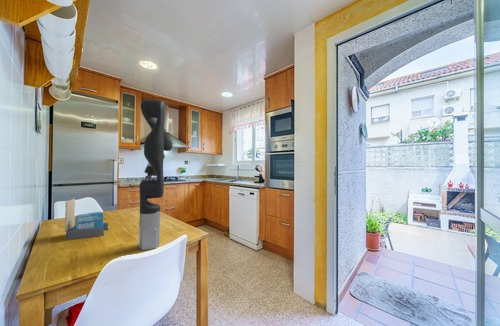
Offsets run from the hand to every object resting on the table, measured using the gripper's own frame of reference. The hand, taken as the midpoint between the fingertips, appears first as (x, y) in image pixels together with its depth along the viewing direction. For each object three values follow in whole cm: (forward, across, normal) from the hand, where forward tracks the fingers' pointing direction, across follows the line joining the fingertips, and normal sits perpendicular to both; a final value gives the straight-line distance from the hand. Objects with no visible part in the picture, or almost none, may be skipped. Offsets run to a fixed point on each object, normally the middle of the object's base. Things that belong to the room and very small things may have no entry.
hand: (141, 193), depth 113 cm
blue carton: (+30, -13, -17) cm, 36 cm away
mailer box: (+30, -12, -17) cm, 36 cm away
